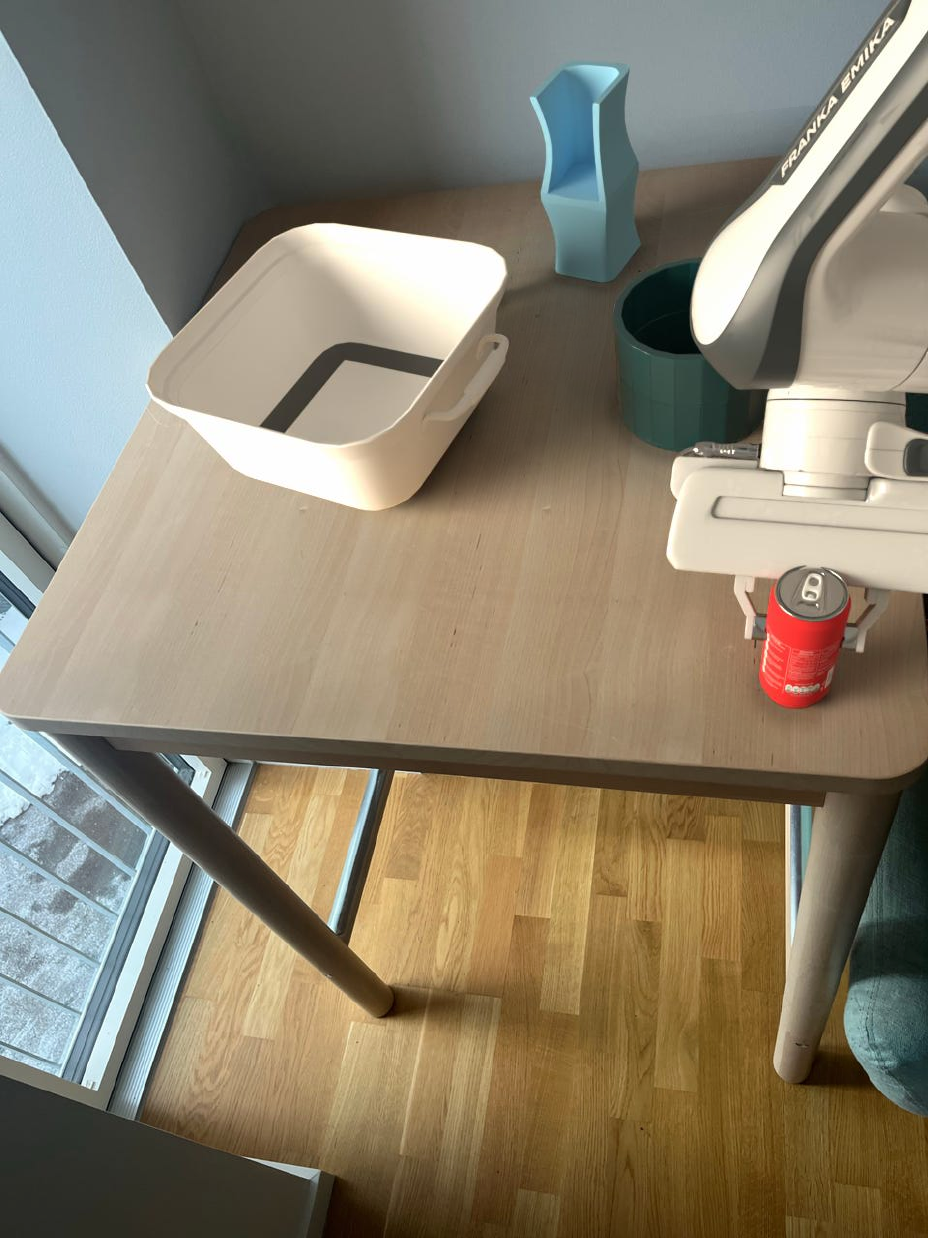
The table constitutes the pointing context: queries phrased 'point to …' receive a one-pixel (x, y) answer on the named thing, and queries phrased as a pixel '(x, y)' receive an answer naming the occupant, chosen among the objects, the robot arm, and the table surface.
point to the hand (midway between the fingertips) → (802, 644)
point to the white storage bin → (340, 360)
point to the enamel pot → (673, 367)
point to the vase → (588, 168)
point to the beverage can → (803, 635)
